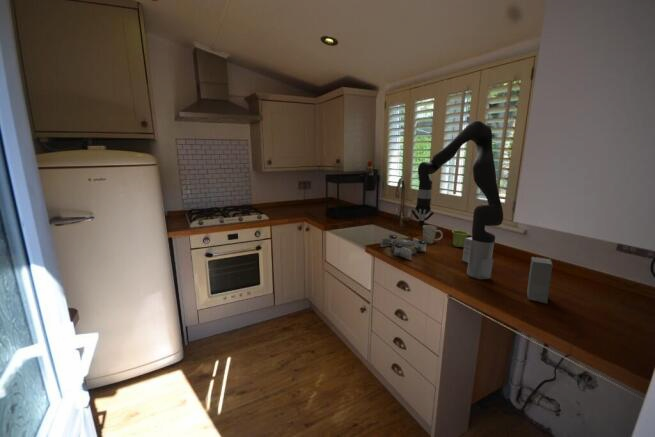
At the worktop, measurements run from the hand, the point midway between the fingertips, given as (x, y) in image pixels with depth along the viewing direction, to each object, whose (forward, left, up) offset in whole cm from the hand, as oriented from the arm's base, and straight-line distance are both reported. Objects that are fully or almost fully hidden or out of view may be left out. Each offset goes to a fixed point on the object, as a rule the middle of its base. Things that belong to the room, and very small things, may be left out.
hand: (421, 226), depth 173 cm
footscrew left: (-13, +18, -13) cm, 25 cm away
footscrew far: (+6, +17, -13) cm, 22 cm away
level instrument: (-3, +11, -13) cm, 18 cm away
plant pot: (+1, -28, -13) cm, 31 cm away
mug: (+10, -15, -13) cm, 22 cm away
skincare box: (-64, -15, -13) cm, 67 cm away
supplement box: (-25, -17, -13) cm, 33 cm away
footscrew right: (-3, +2, -13) cm, 13 cm away
